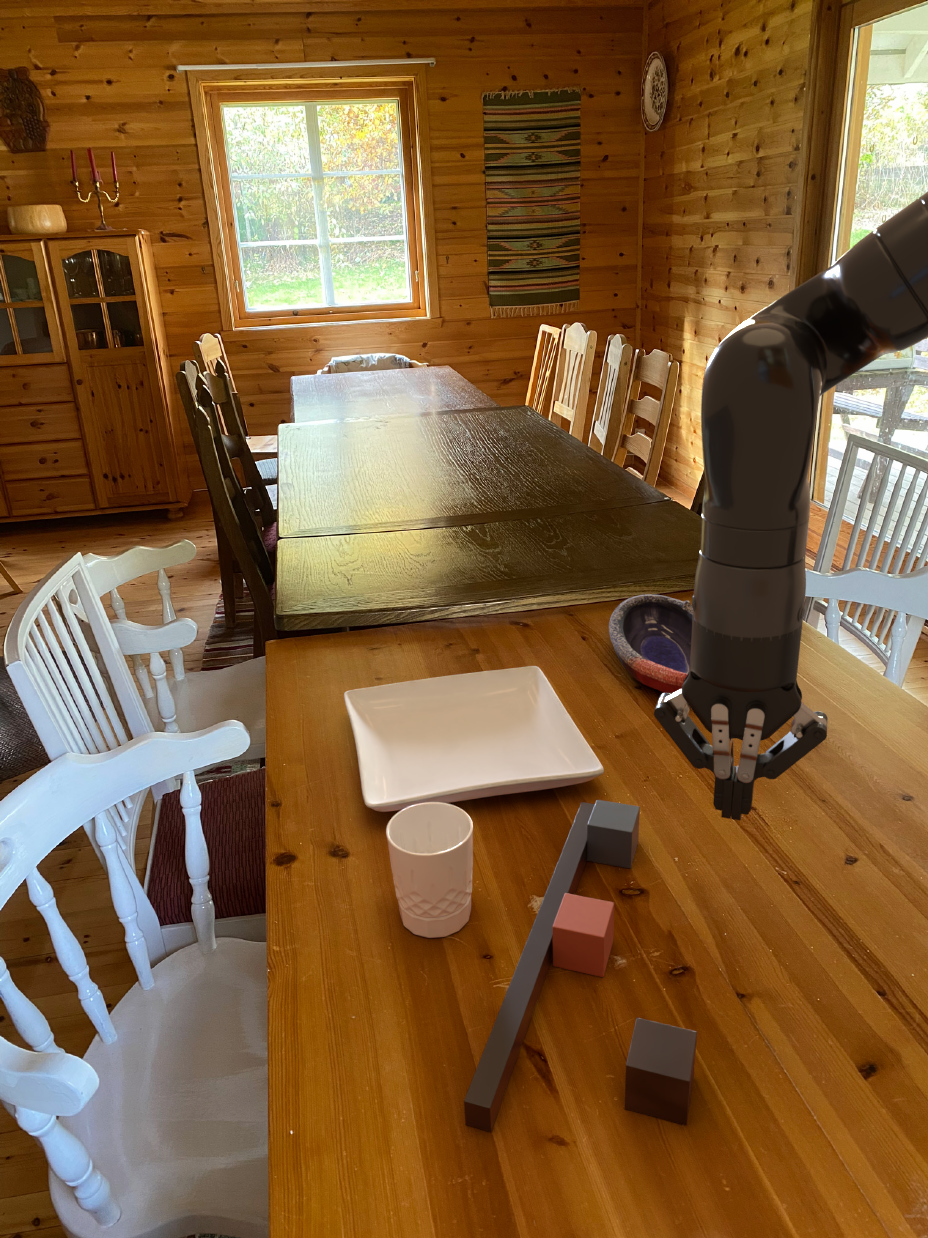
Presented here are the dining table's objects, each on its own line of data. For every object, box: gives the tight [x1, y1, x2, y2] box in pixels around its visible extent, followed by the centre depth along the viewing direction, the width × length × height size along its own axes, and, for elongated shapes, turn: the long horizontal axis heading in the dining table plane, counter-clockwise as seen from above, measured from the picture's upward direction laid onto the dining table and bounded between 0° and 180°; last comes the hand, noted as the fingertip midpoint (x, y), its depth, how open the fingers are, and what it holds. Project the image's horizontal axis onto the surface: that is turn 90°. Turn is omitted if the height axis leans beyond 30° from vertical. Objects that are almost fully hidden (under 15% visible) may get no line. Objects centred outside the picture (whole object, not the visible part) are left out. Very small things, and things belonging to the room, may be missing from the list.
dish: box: [608, 593, 693, 694], centre depth 132 cm, size 16×31×5 cm, turn 179°
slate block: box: [586, 799, 641, 870], centre depth 93 cm, size 4×4×4 cm
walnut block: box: [623, 1017, 698, 1126], centre depth 68 cm, size 4×4×4 cm
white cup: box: [385, 802, 474, 939], centre depth 85 cm, size 8×8×10 cm
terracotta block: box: [552, 893, 615, 978], centre depth 81 cm, size 4×4×4 cm
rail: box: [463, 801, 595, 1133], centre depth 82 cm, size 2×38×2 cm, turn 160°
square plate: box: [343, 665, 605, 813], centre depth 112 cm, size 27×27×4 cm
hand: (731, 813), depth 72 cm, fingers closed
